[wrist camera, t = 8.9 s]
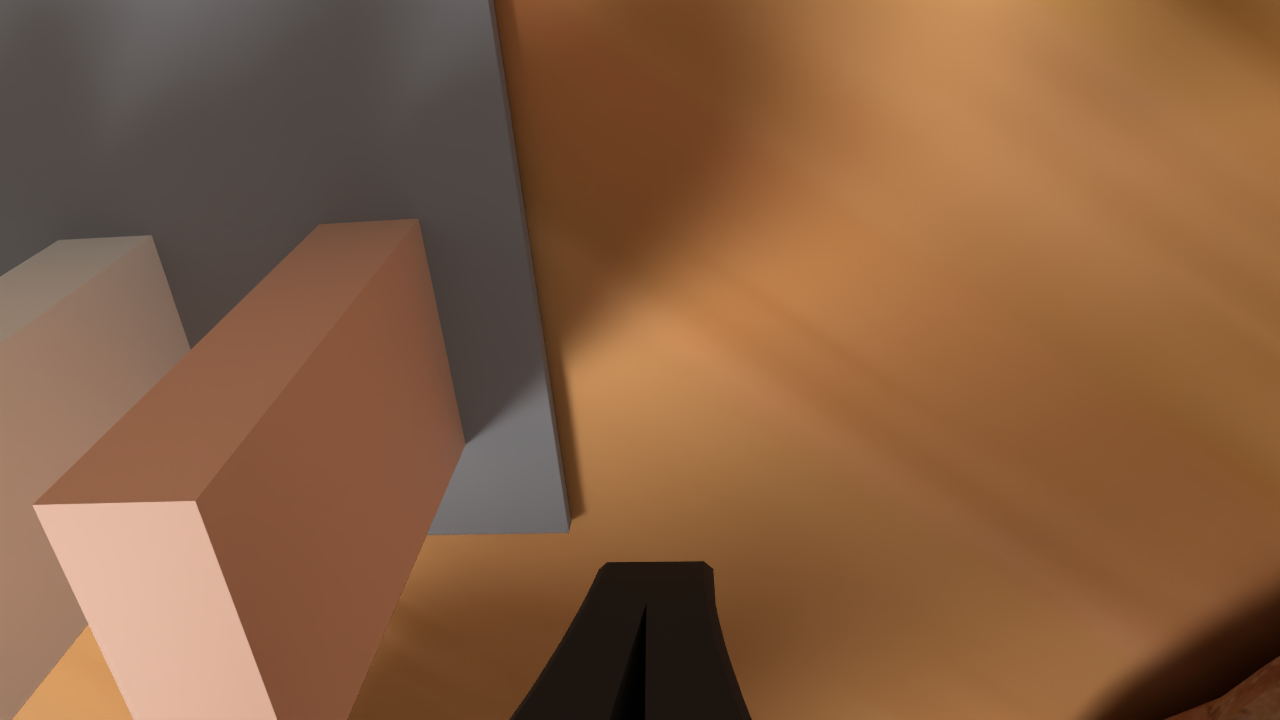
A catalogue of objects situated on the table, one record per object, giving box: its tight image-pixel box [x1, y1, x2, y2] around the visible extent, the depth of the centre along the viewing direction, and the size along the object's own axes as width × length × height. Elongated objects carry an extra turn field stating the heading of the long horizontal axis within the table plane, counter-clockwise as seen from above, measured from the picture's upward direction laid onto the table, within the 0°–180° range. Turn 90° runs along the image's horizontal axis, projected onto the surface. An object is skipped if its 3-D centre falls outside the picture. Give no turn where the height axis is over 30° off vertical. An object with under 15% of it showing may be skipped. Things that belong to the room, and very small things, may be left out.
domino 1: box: [0, 235, 191, 720], centre depth 17 cm, size 2×5×9 cm, turn 5°
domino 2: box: [33, 218, 466, 720], centre depth 16 cm, size 2×5×9 cm, turn 5°
